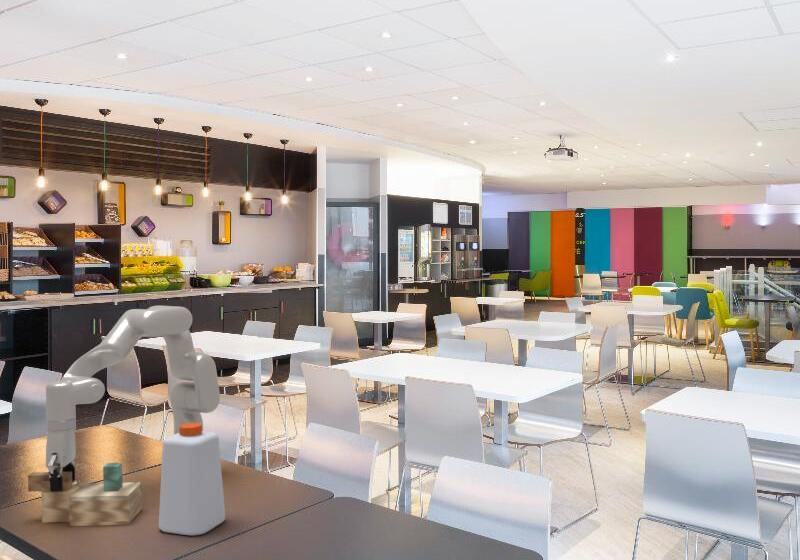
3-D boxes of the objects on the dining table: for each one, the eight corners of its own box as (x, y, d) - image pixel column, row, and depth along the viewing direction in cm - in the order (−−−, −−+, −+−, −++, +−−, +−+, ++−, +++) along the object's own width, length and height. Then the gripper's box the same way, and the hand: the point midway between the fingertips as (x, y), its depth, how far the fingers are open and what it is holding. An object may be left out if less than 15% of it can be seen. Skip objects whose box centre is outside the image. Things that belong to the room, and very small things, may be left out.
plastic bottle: (231, 519, 209) (229, 420, 208) (200, 538, 194) (198, 433, 193) (185, 513, 213) (183, 417, 212) (152, 532, 199) (149, 429, 198)
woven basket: (141, 509, 217) (140, 471, 217) (128, 524, 205) (127, 483, 205) (54, 512, 216) (53, 473, 215) (36, 527, 204) (35, 485, 203)
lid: (141, 492, 217) (140, 458, 216) (128, 506, 205) (127, 470, 204) (85, 493, 216) (84, 459, 216) (69, 507, 204) (68, 471, 204)
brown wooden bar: (72, 487, 211) (72, 471, 211) (68, 490, 208) (67, 474, 208) (33, 488, 211) (32, 472, 211) (28, 491, 208) (27, 475, 208)
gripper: (60, 418, 218) (61, 477, 218) (34, 432, 200) (35, 496, 201) (86, 417, 218) (87, 476, 218) (62, 432, 201) (64, 495, 201)
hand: (62, 485), depth 210 cm, fingers open, 8 cm apart
